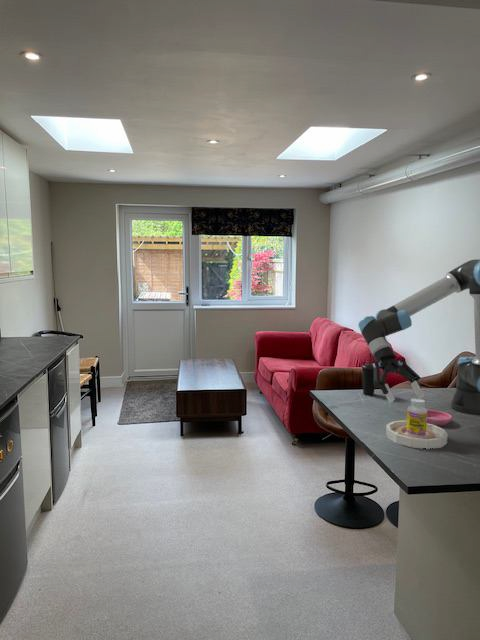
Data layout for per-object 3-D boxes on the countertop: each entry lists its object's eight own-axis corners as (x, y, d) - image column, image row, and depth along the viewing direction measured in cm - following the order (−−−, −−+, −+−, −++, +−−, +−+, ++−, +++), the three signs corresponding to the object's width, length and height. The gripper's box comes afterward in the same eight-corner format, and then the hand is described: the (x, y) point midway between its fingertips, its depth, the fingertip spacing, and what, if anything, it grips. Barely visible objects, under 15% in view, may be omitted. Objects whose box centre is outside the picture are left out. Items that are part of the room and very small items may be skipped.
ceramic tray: (439, 430, 174) (440, 423, 173) (451, 451, 154) (452, 442, 154) (384, 425, 178) (384, 418, 178) (388, 445, 159) (389, 436, 158)
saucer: (418, 424, 181) (418, 417, 180) (417, 415, 192) (418, 408, 192) (453, 429, 176) (453, 421, 176) (450, 419, 188) (450, 411, 188)
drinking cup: (375, 392, 226) (377, 352, 224) (378, 396, 218) (380, 355, 216) (359, 391, 227) (361, 351, 224) (361, 396, 219) (363, 354, 217)
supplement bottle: (405, 436, 164) (407, 401, 163) (406, 430, 170) (408, 396, 169) (425, 439, 162) (427, 403, 160) (426, 433, 168) (428, 398, 167)
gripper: (402, 354, 188) (427, 401, 176) (350, 359, 178) (374, 408, 167) (412, 344, 182) (439, 391, 171) (360, 347, 173) (384, 397, 161)
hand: (407, 399), depth 169 cm, fingers open, 13 cm apart
